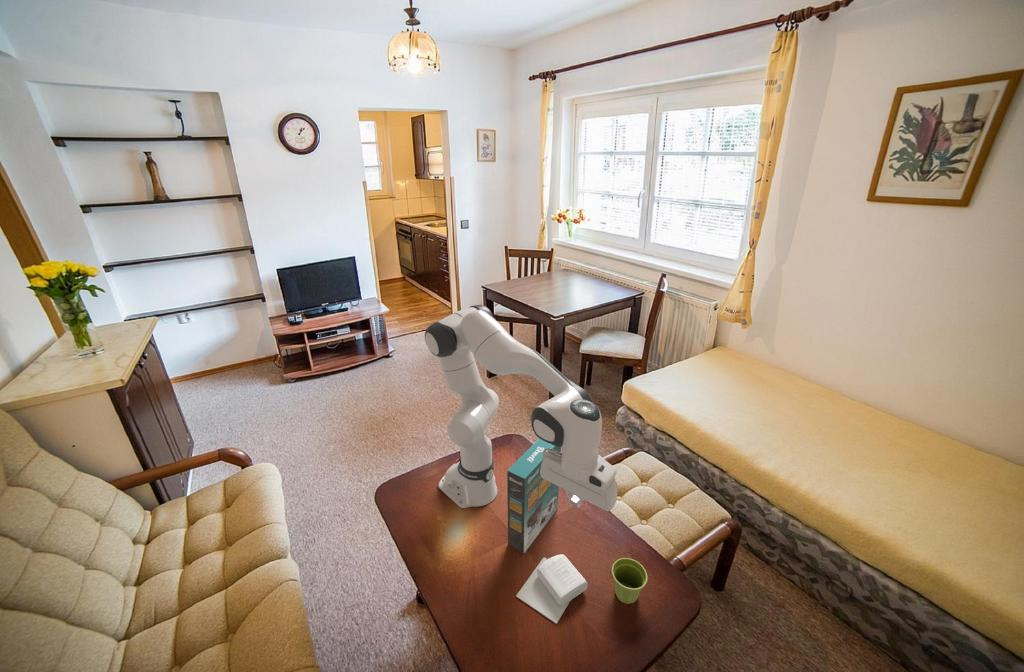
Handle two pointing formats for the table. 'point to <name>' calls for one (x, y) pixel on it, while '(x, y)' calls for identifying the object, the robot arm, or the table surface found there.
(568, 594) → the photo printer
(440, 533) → the table surface
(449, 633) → the table surface
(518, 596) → the mat
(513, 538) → the cake mix box
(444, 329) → the robot arm
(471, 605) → the table surface
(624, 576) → the plant pot
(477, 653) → the table surface
